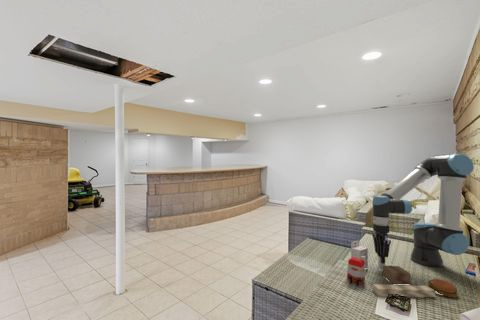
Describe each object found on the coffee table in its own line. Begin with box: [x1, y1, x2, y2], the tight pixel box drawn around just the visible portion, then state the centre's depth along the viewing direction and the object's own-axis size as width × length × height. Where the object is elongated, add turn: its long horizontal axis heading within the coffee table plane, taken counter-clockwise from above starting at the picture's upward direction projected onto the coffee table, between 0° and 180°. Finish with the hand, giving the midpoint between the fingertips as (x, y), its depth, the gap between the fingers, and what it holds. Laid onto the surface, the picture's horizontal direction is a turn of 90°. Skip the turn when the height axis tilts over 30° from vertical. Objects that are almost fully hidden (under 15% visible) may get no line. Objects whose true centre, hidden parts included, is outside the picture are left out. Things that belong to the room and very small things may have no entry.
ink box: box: [350, 239, 369, 268], centre depth 122 cm, size 8×5×15 cm, turn 123°
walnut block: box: [382, 265, 411, 285], centre depth 109 cm, size 8×8×6 cm
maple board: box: [372, 283, 436, 298], centre depth 97 cm, size 24×4×3 cm, turn 89°
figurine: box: [346, 256, 367, 287], centre depth 107 cm, size 8×7×12 cm
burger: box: [427, 278, 458, 299], centre depth 99 cm, size 10×9×5 cm
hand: (381, 268), depth 120 cm, fingers closed
